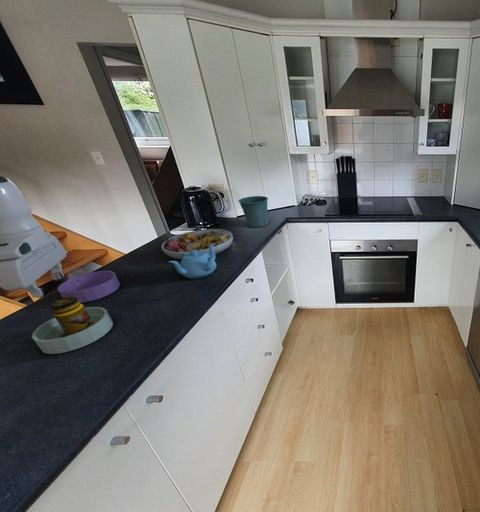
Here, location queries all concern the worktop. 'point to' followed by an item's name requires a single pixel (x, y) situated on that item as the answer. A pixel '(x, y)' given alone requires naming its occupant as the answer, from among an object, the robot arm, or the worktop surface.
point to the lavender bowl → (90, 286)
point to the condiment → (71, 316)
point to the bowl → (197, 242)
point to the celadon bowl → (51, 329)
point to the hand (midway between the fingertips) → (50, 286)
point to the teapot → (196, 263)
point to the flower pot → (255, 210)
